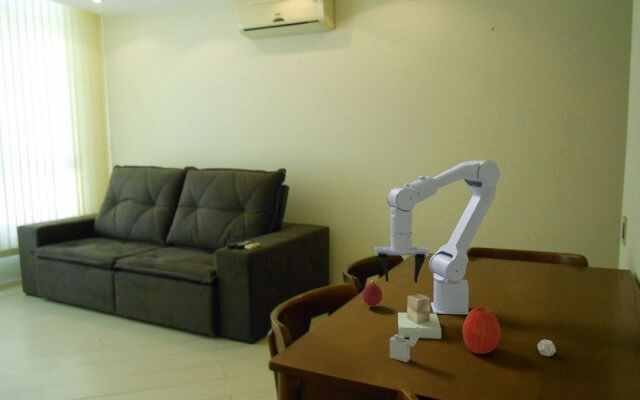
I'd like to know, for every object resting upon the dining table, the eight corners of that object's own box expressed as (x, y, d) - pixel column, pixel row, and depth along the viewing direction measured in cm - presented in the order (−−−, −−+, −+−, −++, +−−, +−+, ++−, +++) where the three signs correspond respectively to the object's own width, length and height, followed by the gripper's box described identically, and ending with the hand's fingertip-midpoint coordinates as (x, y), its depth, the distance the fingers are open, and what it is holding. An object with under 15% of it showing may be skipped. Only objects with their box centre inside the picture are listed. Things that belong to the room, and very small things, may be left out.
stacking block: (436, 324, 117) (436, 313, 117) (441, 340, 107) (441, 328, 107) (398, 323, 118) (398, 312, 118) (399, 339, 109) (399, 327, 108)
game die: (547, 359, 96) (548, 346, 95) (533, 352, 99) (533, 339, 99) (559, 356, 97) (559, 343, 97) (544, 349, 100) (545, 336, 100)
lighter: (389, 357, 98) (389, 322, 97) (392, 354, 99) (392, 320, 98) (419, 366, 94) (419, 330, 93) (422, 362, 95) (423, 327, 94)
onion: (381, 311, 126) (381, 284, 125) (361, 310, 127) (361, 283, 126) (383, 304, 131) (382, 278, 131) (363, 303, 133) (363, 277, 132)
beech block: (419, 315, 115) (420, 293, 115) (429, 321, 112) (430, 298, 111) (407, 318, 114) (407, 295, 113) (416, 323, 110) (417, 300, 109)
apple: (496, 363, 94) (497, 314, 93) (457, 354, 99) (458, 308, 98) (503, 348, 101) (504, 303, 100) (466, 340, 106) (467, 297, 104)
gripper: (427, 229, 122) (426, 277, 124) (374, 229, 124) (374, 276, 126) (429, 234, 115) (429, 284, 117) (374, 234, 118) (374, 283, 119)
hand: (401, 281), depth 121 cm, fingers open, 7 cm apart
